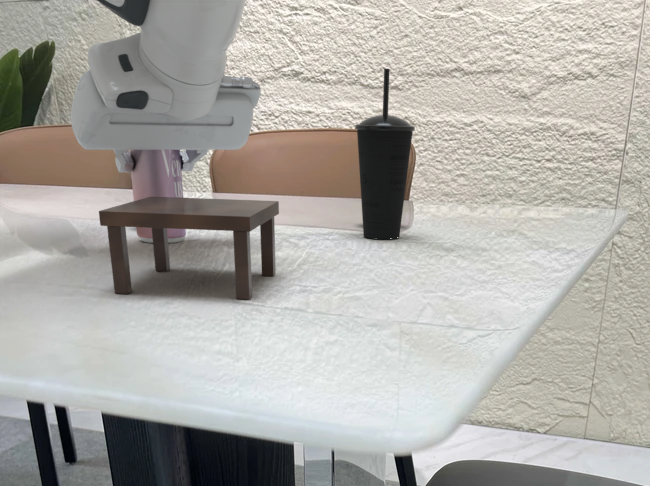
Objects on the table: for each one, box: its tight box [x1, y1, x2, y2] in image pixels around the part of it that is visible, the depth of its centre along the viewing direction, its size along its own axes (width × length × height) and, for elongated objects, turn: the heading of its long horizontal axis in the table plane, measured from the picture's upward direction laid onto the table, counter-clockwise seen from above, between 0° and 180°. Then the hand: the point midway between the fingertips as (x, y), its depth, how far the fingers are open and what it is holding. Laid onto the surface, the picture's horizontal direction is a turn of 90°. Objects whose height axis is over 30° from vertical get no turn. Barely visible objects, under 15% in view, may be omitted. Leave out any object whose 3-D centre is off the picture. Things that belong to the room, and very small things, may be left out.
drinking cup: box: [354, 68, 416, 240], centre depth 99 cm, size 8×8×20 cm
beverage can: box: [128, 150, 187, 244], centre depth 93 cm, size 6×6×15 cm
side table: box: [98, 197, 280, 300], centre depth 72 cm, size 13×13×7 cm
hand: (154, 167), depth 93 cm, fingers open, 6 cm apart
